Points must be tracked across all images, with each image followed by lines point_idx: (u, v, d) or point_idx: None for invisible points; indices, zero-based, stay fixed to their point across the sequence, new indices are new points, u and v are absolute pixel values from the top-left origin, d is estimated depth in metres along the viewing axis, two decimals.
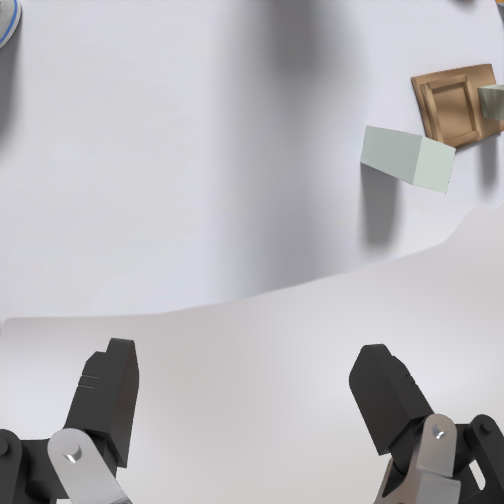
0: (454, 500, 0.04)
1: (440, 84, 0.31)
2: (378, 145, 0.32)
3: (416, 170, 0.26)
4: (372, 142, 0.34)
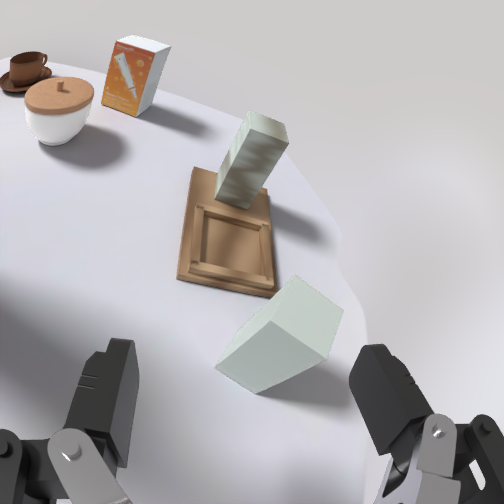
0: (454, 500, 0.04)
1: (197, 245, 0.34)
2: (248, 369, 0.26)
3: (311, 345, 0.20)
4: (239, 373, 0.27)
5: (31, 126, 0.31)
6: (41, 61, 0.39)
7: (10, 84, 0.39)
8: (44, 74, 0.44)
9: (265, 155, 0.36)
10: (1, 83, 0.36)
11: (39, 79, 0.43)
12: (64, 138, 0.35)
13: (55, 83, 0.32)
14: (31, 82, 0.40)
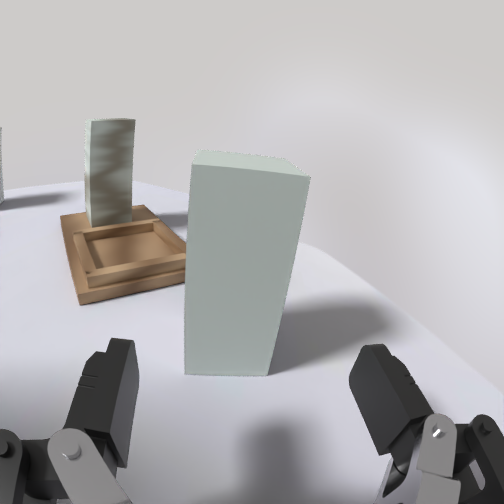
0: (454, 500, 0.04)
1: (88, 258, 0.23)
2: (226, 324, 0.16)
3: (274, 171, 0.13)
4: (221, 349, 0.16)
5: None
6: None
7: None
8: None
9: (118, 143, 0.29)
10: None
11: None
12: None
13: None
14: None
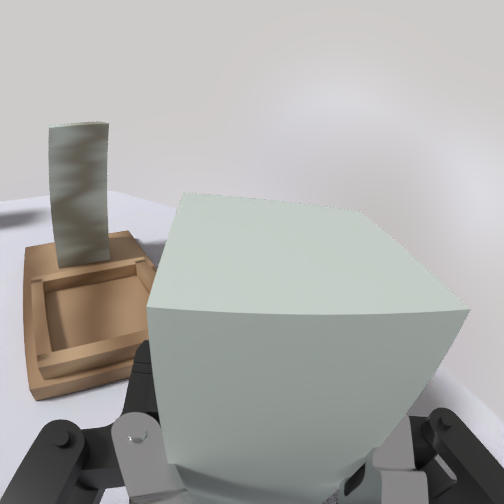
0: (423, 493, 0.04)
1: (43, 330, 0.15)
2: None
3: (400, 306, 0.04)
4: None
5: None
6: None
7: None
8: None
9: (86, 157, 0.21)
10: None
11: None
12: None
13: None
14: None
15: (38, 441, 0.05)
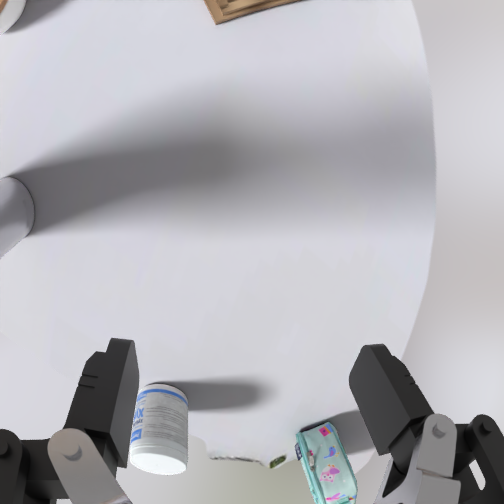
0: (454, 500, 0.04)
1: None
2: None
3: None
4: None
5: None
6: None
7: None
8: None
9: None
10: None
11: None
12: (21, 9, 0.19)
13: None
14: None
15: None
